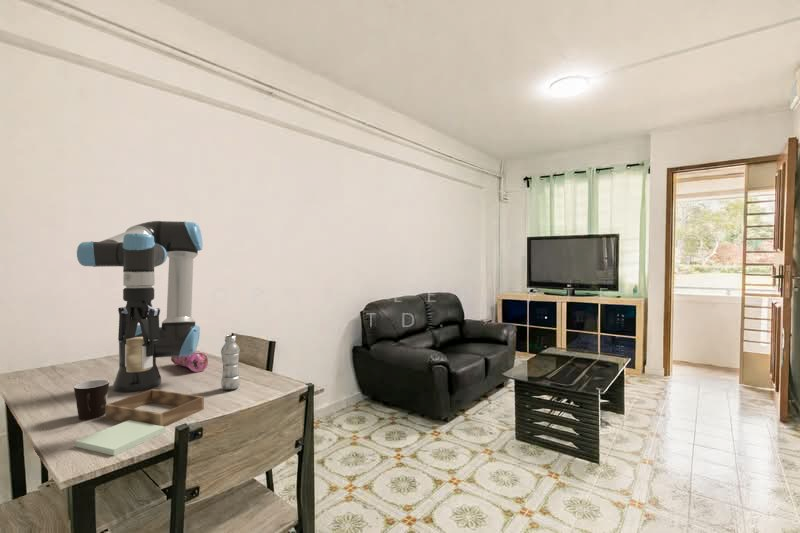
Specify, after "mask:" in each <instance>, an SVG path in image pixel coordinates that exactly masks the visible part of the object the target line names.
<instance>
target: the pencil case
mask: <svg viewBox="0 0 800 533" xmlns="http://www.w3.org/2000/svg"><path fill="white" fill-rule="evenodd" d="M170 360H171V362H172V363H173V364H174V365H176V366H180V367H184V368H188V369H189V370H190V371H192V372H194V373H195V372H196V373H198V372H201V371H202V372H203V371H204V370H205V369H207V368H208V363H209V357H208V355H207V354H206V353H204V352H201V351H195V352H194V353H193V354H192V355H188V356H181V357H180V356H176V357H171V358H170Z"/></svg>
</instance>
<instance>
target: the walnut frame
mask: <svg viewBox="0 0 800 533" xmlns="http://www.w3.org/2000/svg"><path fill="white" fill-rule="evenodd" d="M152 402H153V403H157V404H164V405H171V406H176V407H173V408H170V409H168V410H166V411H163V412H154V411H148V410H144V409H138V408H139V407H142V406H144V405H147V404H150V403H152ZM204 409H205V397H204V396H201V395H195V394H194V395H193V394H187V393H181V392H175V391H168V390H161V389H155V388H150V389H147V390H145V391H143V392H140V393H136V394H135V395H131V396H128V397H125V398H122V399H119V400H115V401H113V402H110V403H106V405H105V415H104V416H105V419H108V420H113V421H120V422H122V423H123V422H125V421H128V420H132V421H137V422H143V423H148V424H153V425H158V426H164V427H165V428H166V427H168V426H169V425H172V424H174V423H176V422H178V421H180V420H183V419H184V418H188V417H189V416H193V415H194V414H196V413H198V412H200V411H202V410H204Z"/></svg>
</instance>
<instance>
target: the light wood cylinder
mask: <svg viewBox="0 0 800 533" xmlns="http://www.w3.org/2000/svg"><path fill="white" fill-rule="evenodd" d="M148 341H149V340H148ZM143 344H144V340H143V337H134V338H129V339H126V372H142V371H146V370H149V369H151V367H149V368H146V369H142V345H143Z"/></svg>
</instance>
